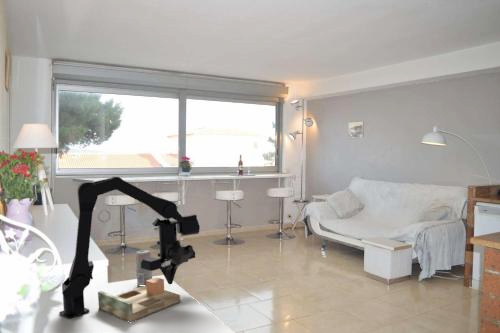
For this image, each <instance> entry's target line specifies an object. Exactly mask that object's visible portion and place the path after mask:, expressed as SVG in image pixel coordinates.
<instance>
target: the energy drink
mask: <svg viewBox="0 0 500 333" xmlns="http://www.w3.org/2000/svg"><path fill="white" fill-rule="evenodd" d="M150 257H152V252H151V250H150V249H139V250H136V251H135V265H136V281H137V283H136V284H137V286H139V285H146V280H149V279H152V278H153V271H149V270H146V269H142V268H141V261H142V260H143V259H146V258H150Z"/></svg>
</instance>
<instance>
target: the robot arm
mask: <svg viewBox="0 0 500 333" xmlns="http://www.w3.org/2000/svg"><path fill="white" fill-rule="evenodd" d="M116 190H117V191H118V192H120V193H122V194H124V195H126V196H129V197H130V198H132V199H134V200H136V201H138V202H140V203H142V204H144V205H146V206H147V207H148V208H149V209H151V210H153V212H155V214H157V215H159V216H160V217H162V218H164V219H160V218H159V217H157V218H156V219H155V220H154V221H153V222H152V226H154V227H158V235H159V236H158V237H159V238H158V239H159V240H157V241H156V244H157V245H159V252H158V253H157V257H159V258H156V257H153V256H151V257H150V258H146V259H143V260H142V261H141V268H142V269H146V270H149V271H152V272H153V271H156V270H160V271H161V272H162V274H163V276H164V278H165V280H166V282H167V283H168V285H173V281H174V280H175V275H176V273H177V270H178V267H180V266H181V265H182V264H184V263H187V262H189V260H192V259H195V258H196V251H194V248H193V246H192V245H191V244H188V245H185V246H181V242H180V239H178V236H177V234H180V236H181V237H184V236H185V237H186V236H191V235H193V236H194V235H198V234H199V233H200V227H201V226H200V224H199V221H198V216H197V214H193V213H191V214H189V215H182V214H180V212H179V211H178V207H177V204H176V203H175V202H173V201H171V200H168V199H165V198H163V197H158V196H156V195H152V194H151V193H148V192H146V190H145V191H144V190H143V189H140V188H139V187H137V186H136V185H133V184H131V183H130V182H128V181H126V180H123V179H122V178H121V177H119V176H118V175H117V176H116V175H115V176H111V177H109V178H105V179H102V180H101V179H100V180H97V181H93V182H92V181H90V180H87V181H82V182H80V184H78V186H77V189H76V192H77V203H78V222H77V232H76V241H75V251H74V252H75V253H74V257H73V260H72V262H71V266H70V270H69V273H68V277H67V278H66V279H65V280H64V281H63V282H62V284H61V289H62V292H61V294H62V302H63V305H62V306H63V310H60V311H59V315H60V316H63V317H64V318H66V319H69V320H70V319H72V318H75V317H78V316H80V315H81V316H82V315H83V314H86V313H89V312H90V309H89V308H87V307H85V296H84V291H85V289H86V288H87V287H88V286H89V285H90V283H91V280H93V279H94V277H93V272H94V267H95V265H94V262H93V260H91V261H90V260H89V255H90V254H89V253H90V243H91V241H90V240H91V232H92V220H93V212H94V209H95V207H96V204H97V200H98V196H101V195H104V194H107V193H109V192H112V191H116ZM170 219H173V220H172V221H171V220H170Z"/></svg>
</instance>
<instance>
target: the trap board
mask: <svg viewBox="0 0 500 333" xmlns="http://www.w3.org/2000/svg"><path fill="white" fill-rule="evenodd" d="M97 298H98V310H100V311H102V312H104V313H107V314H108V315H111V316H113V315H114V317H116V318H118V317H119V318H118V319H120V318H122V319H124V320H126V321H125V322H127V321H129V322H132V321H134V322H136V321H139V320H141V319H144V318H146V317H149V316H151V315H153V314H155V313H157V312H161V311H163V310H165V309H167V308H170V307H172V306H175V305H177V304H180V303H181V295H180V294H178V293H175V292H172V291H170V290H165V289H164V292H162V293H159V294H157V295H151V294H149V293H147V290H146V285H145V286H139V287H137V288H134V289H131V290H128V291H125V292H122V293H119V294H116V295H112V294H110V293H108V292H105V291H102V290H100V291H97ZM143 317H144V318H143ZM122 319H121V320H122ZM124 320H123V321H124ZM135 320H136V321H135ZM129 322H128V323H129ZM132 323H133V322H132Z"/></svg>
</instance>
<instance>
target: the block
mask: <svg viewBox="0 0 500 333" xmlns="http://www.w3.org/2000/svg"><path fill="white" fill-rule="evenodd" d="M146 290H147V293H149V294H151V295H157V294H159V293H162V292H164V290H165V279H163V278H160V277H156V276H155V277H154V278H153V277H152V279H149V280H146Z"/></svg>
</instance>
